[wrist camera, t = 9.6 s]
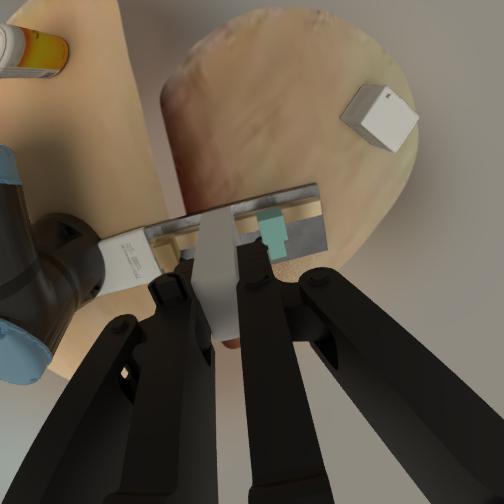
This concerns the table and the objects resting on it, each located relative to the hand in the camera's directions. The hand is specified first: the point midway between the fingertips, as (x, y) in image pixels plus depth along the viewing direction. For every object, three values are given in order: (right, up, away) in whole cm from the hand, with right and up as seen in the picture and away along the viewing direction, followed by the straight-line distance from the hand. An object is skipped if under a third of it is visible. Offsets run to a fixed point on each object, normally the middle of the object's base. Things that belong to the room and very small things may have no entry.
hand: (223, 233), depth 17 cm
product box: (+17, +18, +23) cm, 33 cm away
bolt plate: (0, +1, +29) cm, 29 cm away
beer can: (-25, +25, +15) cm, 39 cm away
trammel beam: (-1, +2, +28) cm, 28 cm away
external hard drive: (-18, -2, +29) cm, 35 cm away
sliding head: (+4, +3, +27) cm, 28 cm away
